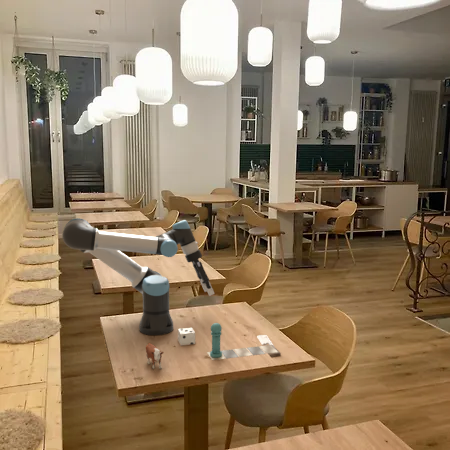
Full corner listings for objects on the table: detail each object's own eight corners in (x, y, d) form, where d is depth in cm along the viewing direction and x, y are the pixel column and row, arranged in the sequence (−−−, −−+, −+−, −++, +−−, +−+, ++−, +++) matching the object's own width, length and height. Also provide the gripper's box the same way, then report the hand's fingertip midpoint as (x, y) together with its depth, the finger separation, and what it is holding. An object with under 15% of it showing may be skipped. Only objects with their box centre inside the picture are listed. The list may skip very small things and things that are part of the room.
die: (180, 348, 201) (180, 333, 200) (177, 342, 206) (177, 328, 206) (195, 346, 202) (195, 332, 202) (191, 341, 208) (191, 327, 207)
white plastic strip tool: (263, 351, 200) (263, 348, 200) (255, 337, 214) (255, 335, 214) (275, 350, 201) (275, 347, 200) (266, 336, 215) (266, 334, 215)
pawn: (211, 358, 188) (212, 325, 186) (208, 353, 193) (208, 321, 191) (223, 357, 190) (223, 324, 188) (220, 352, 194) (220, 320, 192)
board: (211, 364, 186) (211, 361, 186) (204, 354, 195) (204, 351, 194) (280, 355, 194) (280, 352, 194) (271, 346, 203) (271, 344, 203)
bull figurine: (153, 375, 177) (153, 353, 176) (144, 360, 189) (144, 340, 188) (165, 372, 179) (165, 351, 177) (155, 358, 191) (155, 338, 189)
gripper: (203, 250, 221) (221, 293, 223) (195, 247, 246) (212, 286, 247) (187, 257, 220) (206, 300, 222) (181, 253, 244) (198, 292, 246)
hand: (209, 292), depth 234 cm, fingers open, 13 cm apart
